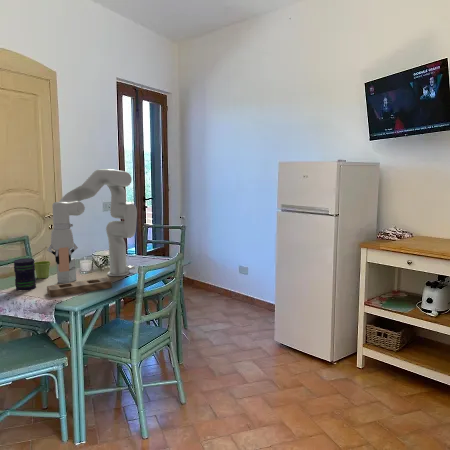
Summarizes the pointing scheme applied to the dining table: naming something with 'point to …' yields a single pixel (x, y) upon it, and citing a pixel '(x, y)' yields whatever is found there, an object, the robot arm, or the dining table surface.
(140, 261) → the dining table surface
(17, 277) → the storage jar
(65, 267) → the peg
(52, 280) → the dining table surface
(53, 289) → the rail
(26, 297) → the dining table surface
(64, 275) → the supplement box
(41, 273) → the plant pot
